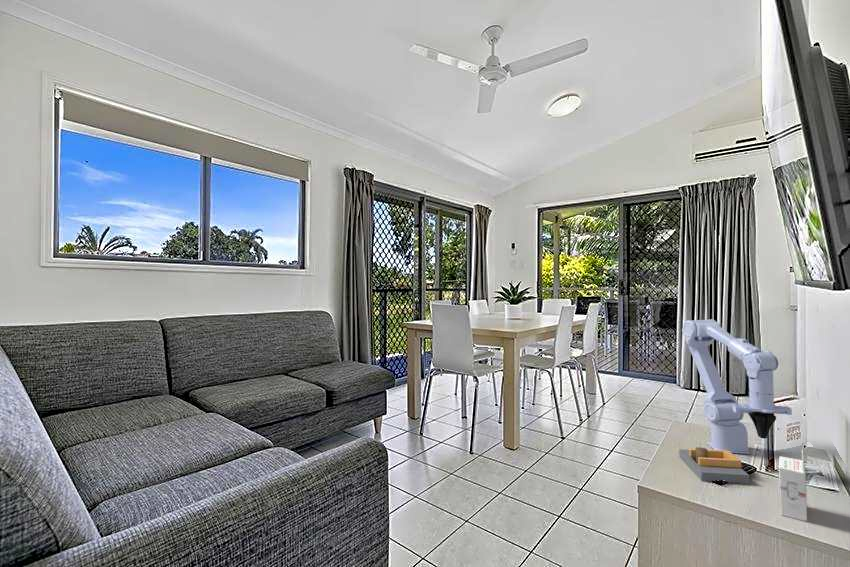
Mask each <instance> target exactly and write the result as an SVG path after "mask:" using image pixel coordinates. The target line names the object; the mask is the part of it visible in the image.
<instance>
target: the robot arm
mask: <svg viewBox="0 0 850 567" xmlns="http://www.w3.org/2000/svg"><path fill="white" fill-rule="evenodd" d="M681 332H682V334H683V337H684V339H685V342H686V344H687V346H688V349H689V351H690V353H691V356H692V359H693V361H694V363H695V366H696V368H697V370H698V373H699V376H700V379H701V381H702V384H703V385H704V388H705V391H706V394H707V395H706V396H705V397H704V399H703V400H702V404H703V407H704V408H703V410H704V414H705V417H706V418H707V420H708V421H710V429H711V431H710V435H711V437H710V438H711V441H706V444H707V445H708V446H709V447H710V448H712V450H727V451H730V452H731V453H732V454H745V455H746V454H747V455H748V454H750V452H749V437H748V430H747V428H746V426H745V424H744V423H742V422H740V421H742V419H744V415H745V414H748V416H749V418H750V419H751V421H752V422H753V425H754V427H755V431H756V434H757V437H759V438H761V439H767V438H768V434H769V432H770V429H771V427H772V426H773V424H774V422H776V421H777V416H776V415H777V414H778V415H788V416H792V415H793V413H792V412H793V411H792V407H789V406H787V405H785V406H784V405H783V406H781V405H775V403H774V402H775V397H774V396H775V395H774V394H775V392H774V389H775V388H774V371H776V370H777V369H778V368H779V360H778V357H777V356H776V355H775V354H774V353H773V352H772V351H767V350H766V351H763V350H761V349H760V348H759V347H756V346H754V345H753V344H752V343H750V342H749V341H748V340H747V339H746V338H739V337H738V338H735V336H733V335H731V334H730V333H729V332H728V331H726V329H724V328H722V327H721V324H720V322H718V321H716V320H715V319H713V318H711V319H698V320H696V319H695V320H692V319H689V320H685V321H684V322H683V325H682V329H681ZM715 341H717V342H719V343H720V344H722V345H724V346H726V347H727V351H728V352H729V354H731V355H733V356H734V357H735V358H737V359H738V360H740V361H741V362H742V363H743V366H744V368H745V370H746V375H747V377H748V399H749V403H747V404H746V403H745V404H744V403H743V404H740V403H739V401H738V400H737V398H736V396H734V395H733V394H731V393H730V392H728V391H727V390H726V388H725V386H724V383H723V381H722V379H721V377H720V374H719V372H718V369H717V367H716V364H715V363H714V360H713V358H712V356H711V353H710V351H709V349H708V348H709V346H710V345H712V343H713V342H715Z"/></svg>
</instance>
